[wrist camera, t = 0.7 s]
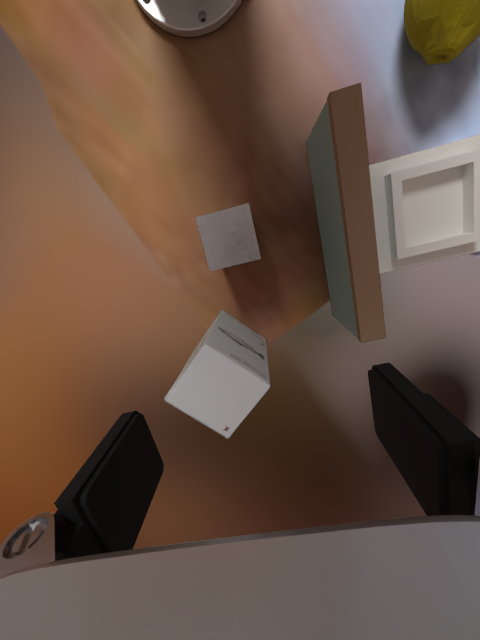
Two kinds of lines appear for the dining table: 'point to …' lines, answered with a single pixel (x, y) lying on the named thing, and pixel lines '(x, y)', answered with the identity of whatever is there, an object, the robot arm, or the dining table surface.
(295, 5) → the dining table surface
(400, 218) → the cradle
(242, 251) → the block
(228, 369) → the supplement box
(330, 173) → the door board
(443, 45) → the lemon
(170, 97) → the dining table surface
